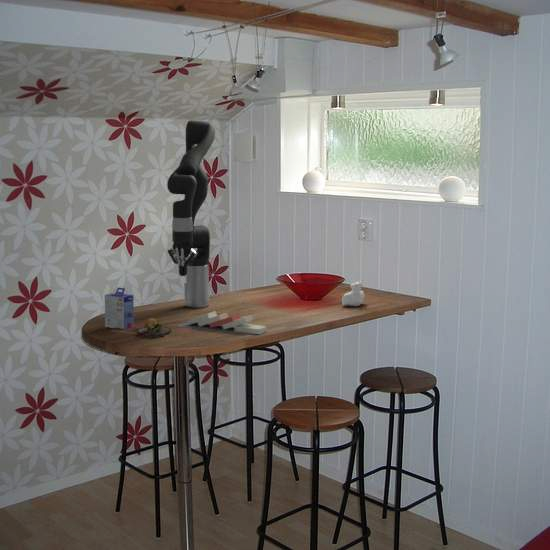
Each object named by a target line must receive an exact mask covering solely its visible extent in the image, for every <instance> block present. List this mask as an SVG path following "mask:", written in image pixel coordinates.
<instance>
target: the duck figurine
mask: <svg viewBox="0 0 550 550" xmlns="http://www.w3.org/2000/svg"><path fill="white" fill-rule="evenodd" d="M349 287H350V288H351V289H350V291H348V292H346V293H344V295H342V298H341V302H342V303H341V304H342V305H343V306H348V307H349V306H351V307H358V306H360V305H361V304H363V302H364V299H365V297H366V295H365V293H364V291H363V290H362V288H363V283H362V282H360V281H354V283H351V284H350V285H349Z"/></svg>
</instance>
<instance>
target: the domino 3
mask: <svg viewBox="0 0 550 550" xmlns="http://www.w3.org/2000/svg"><path fill="white" fill-rule="evenodd" d="M253 316H254V315H253V314H251V315H248V316H244V317H242V318H241V317H240V318H241V319H238V320H235V321H233V322H230V323H226V324H223V325H222V326H223V329H227V328H231V327H234V326H237V325H240V324H248V323H249V322H252V321H254V320H255V319H254V317H253Z"/></svg>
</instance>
